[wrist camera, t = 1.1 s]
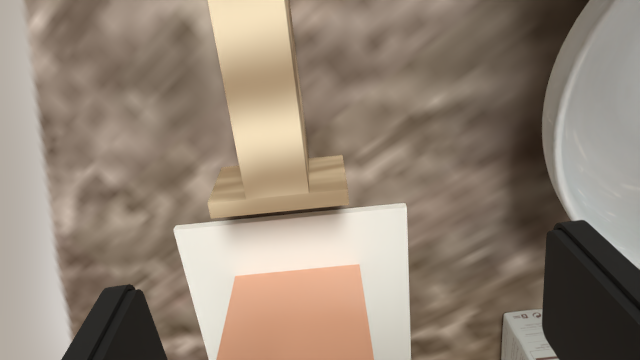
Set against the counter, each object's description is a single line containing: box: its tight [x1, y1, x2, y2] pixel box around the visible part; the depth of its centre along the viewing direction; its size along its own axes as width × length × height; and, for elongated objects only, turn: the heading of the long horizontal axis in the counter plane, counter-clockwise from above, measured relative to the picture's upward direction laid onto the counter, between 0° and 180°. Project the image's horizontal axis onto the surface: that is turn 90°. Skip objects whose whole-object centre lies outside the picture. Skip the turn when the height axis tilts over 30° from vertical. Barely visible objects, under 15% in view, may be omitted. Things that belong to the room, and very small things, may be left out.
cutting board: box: [174, 203, 411, 360], centre depth 37 cm, size 18×16×1 cm
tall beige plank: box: [208, 0, 349, 219], centre depth 27 cm, size 15×8×5 cm, turn 6°
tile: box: [216, 264, 374, 360], centre depth 31 cm, size 2×9×10 cm, turn 96°
